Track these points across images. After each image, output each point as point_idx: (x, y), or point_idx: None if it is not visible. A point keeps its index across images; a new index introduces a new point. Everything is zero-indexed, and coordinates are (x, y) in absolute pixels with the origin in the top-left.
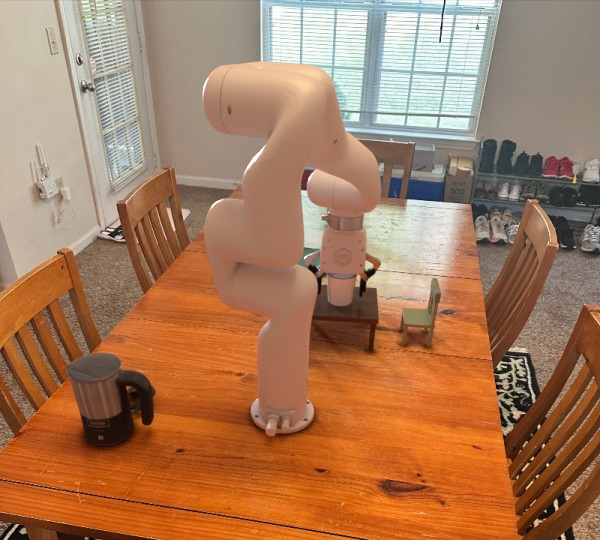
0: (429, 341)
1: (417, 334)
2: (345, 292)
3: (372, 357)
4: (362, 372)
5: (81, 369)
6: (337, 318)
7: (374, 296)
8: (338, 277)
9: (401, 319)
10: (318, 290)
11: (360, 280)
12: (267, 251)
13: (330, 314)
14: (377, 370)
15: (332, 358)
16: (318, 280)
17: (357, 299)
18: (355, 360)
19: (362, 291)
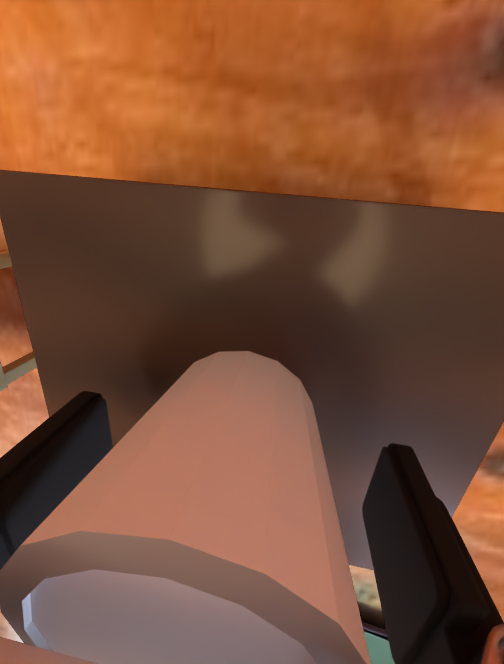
0: None
1: (14, 321)
2: (180, 404)
3: (140, 157)
4: (177, 7)
5: None
6: (273, 193)
7: None
8: (217, 598)
9: (30, 359)
10: (417, 471)
11: (12, 523)
12: None
13: (324, 229)
14: (115, 37)
15: (302, 135)
16: (476, 585)
17: None
18: (206, 125)
19: (52, 417)
